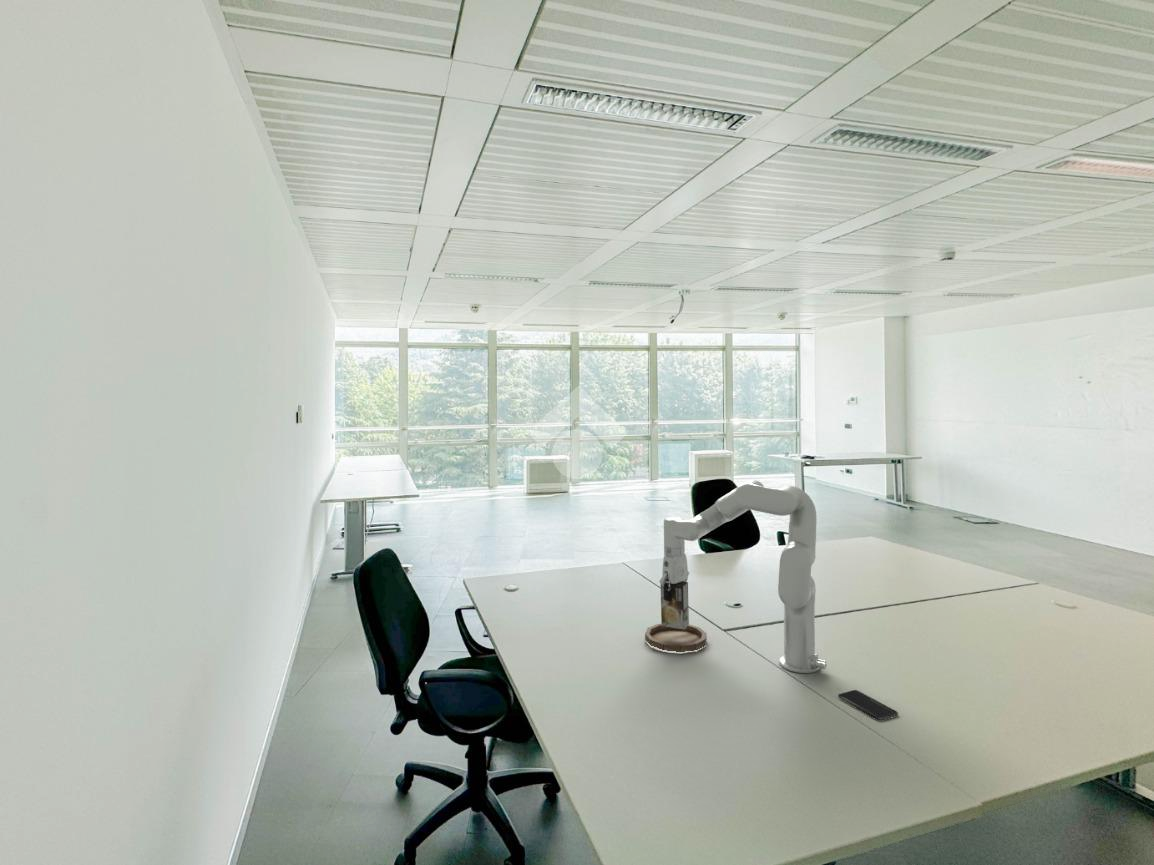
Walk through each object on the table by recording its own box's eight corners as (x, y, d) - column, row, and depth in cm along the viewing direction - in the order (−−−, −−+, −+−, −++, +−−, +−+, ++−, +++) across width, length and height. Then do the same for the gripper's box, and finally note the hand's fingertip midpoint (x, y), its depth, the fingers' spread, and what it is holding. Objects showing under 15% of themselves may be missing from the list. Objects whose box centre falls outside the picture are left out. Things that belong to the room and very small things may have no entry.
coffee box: (689, 624, 218) (689, 581, 218) (684, 630, 213) (683, 586, 212) (666, 620, 223) (665, 578, 222) (660, 626, 217) (659, 583, 216)
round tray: (717, 641, 217) (717, 633, 217) (682, 659, 202) (682, 650, 202) (670, 626, 233) (670, 618, 233) (633, 642, 218) (633, 634, 218)
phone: (879, 719, 160) (836, 694, 174) (879, 723, 160) (836, 698, 174) (900, 712, 163) (856, 689, 177) (900, 716, 163) (856, 692, 177)
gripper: (667, 557, 208) (668, 606, 208) (696, 548, 220) (697, 594, 220) (651, 553, 213) (652, 601, 214) (680, 545, 225) (680, 590, 226)
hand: (674, 597), depth 217 cm, fingers closed on coffee box, 7 cm apart
